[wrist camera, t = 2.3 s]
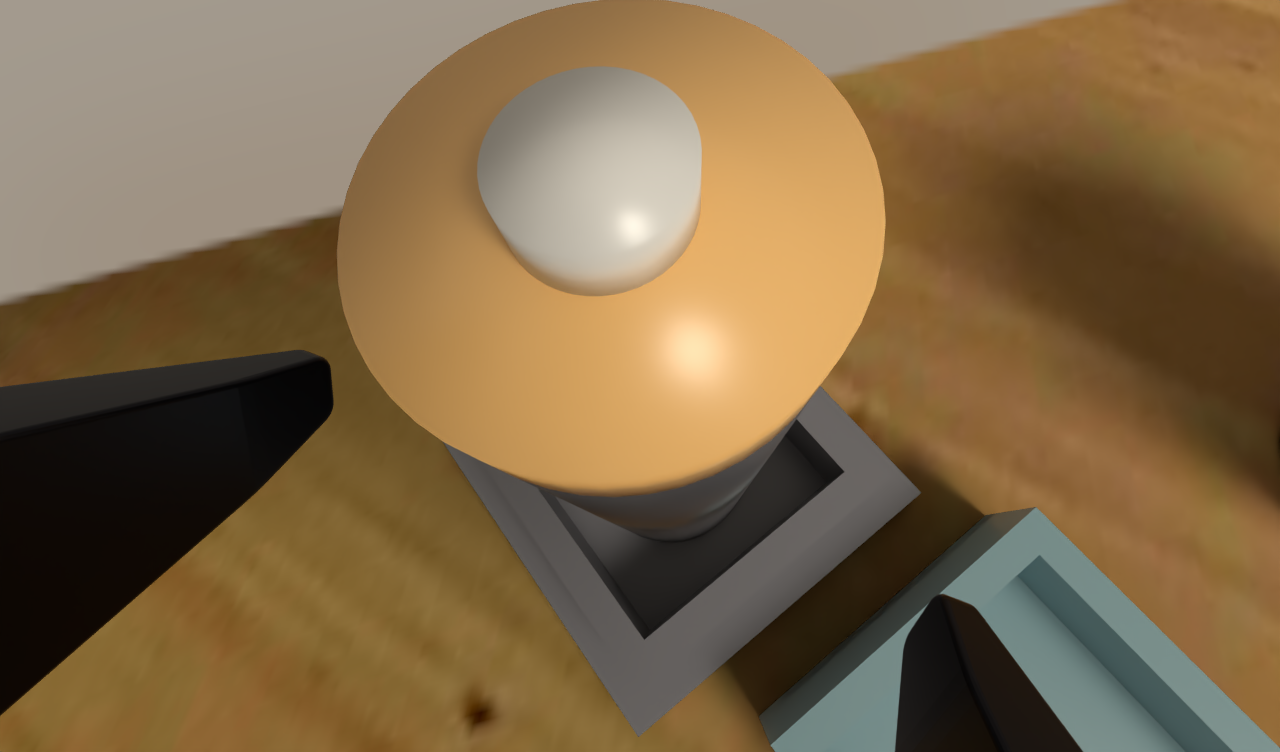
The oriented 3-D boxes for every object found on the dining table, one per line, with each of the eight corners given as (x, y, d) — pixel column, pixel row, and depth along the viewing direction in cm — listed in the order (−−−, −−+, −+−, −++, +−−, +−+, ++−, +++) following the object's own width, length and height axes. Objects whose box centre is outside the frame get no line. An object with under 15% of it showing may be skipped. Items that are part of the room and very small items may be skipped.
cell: (656, 575, 16) (501, 631, 3) (565, 452, 17) (193, 137, 4) (776, 476, 17) (1064, 178, 4) (680, 364, 18) (642, -145, 5)
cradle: (641, 726, 16) (630, 762, 13) (453, 445, 19) (410, 424, 16) (908, 496, 17) (952, 483, 14) (692, 266, 20) (692, 217, 17)
